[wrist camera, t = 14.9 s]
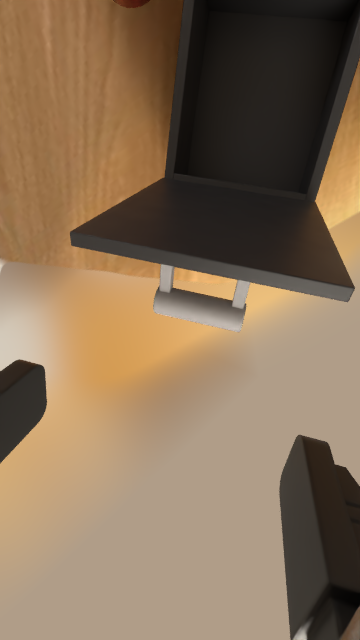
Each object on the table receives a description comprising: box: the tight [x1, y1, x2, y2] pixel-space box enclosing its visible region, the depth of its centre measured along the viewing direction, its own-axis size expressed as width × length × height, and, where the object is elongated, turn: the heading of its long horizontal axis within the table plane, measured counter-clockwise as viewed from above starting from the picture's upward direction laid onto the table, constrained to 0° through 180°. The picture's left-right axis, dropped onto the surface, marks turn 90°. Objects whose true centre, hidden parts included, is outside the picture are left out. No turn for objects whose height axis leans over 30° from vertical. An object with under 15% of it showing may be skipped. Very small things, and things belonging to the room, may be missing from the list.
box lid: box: [70, 178, 355, 332], centre depth 23 cm, size 17×14×5 cm
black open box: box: [165, 0, 360, 202], centre depth 28 cm, size 16×14×7 cm
